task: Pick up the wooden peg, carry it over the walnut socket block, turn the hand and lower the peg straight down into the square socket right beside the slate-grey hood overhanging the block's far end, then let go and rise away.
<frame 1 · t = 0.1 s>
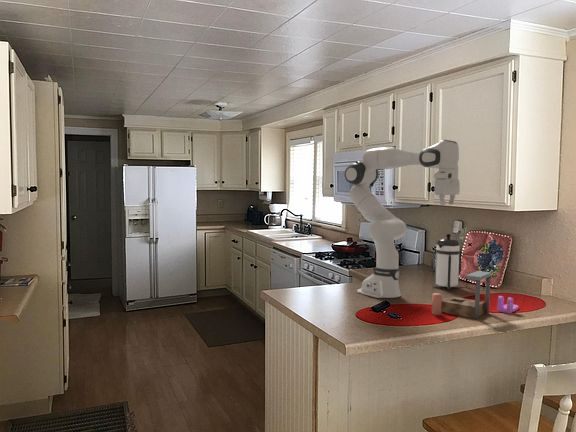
hand: (447, 204, 235), 48 cm above the table, tool pointing down, fingers open, 8 cm apart
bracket: (508, 310, 233), on the table
coffee press: (447, 287, 279), on the table
hood: (477, 315, 222), on the table
peg: (436, 314, 223), on the table
socket block: (461, 312, 227), on the table
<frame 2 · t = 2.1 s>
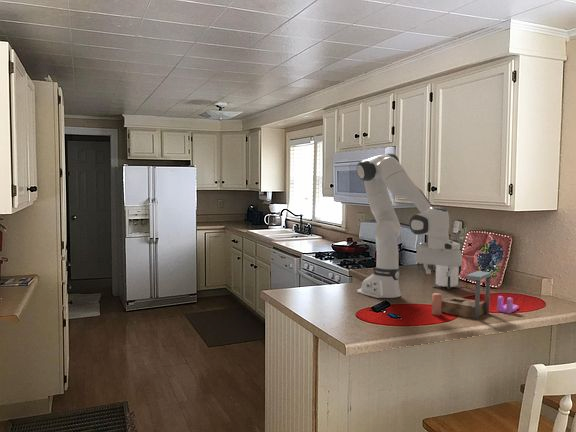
hand: (438, 275, 222), 18 cm above the table, tool pointing down, fingers open, 8 cm apart
nothing on the table moved.
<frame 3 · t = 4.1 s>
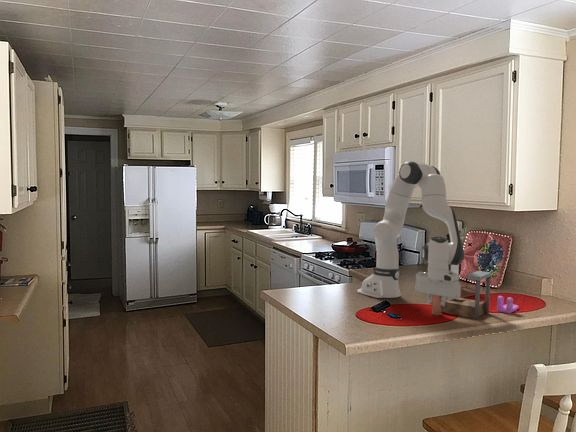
hand: (436, 305, 223), 4 cm above the table, tool pointing down, fingers closed on peg, 4 cm apart
peg: (436, 314, 223), on the table, touching gripper
everything else where it was.
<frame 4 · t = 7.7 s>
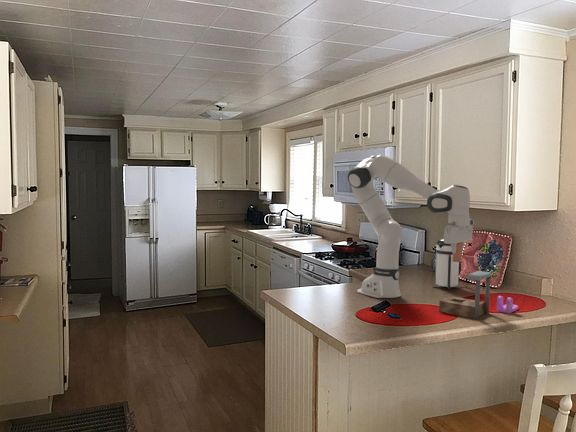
hand: (457, 252, 225), 27 cm above the table, tool pointing down, fingers closed on peg, 4 cm apart
peg: (457, 261, 226), point 23 cm above the table, touching gripper
everything else where it was.
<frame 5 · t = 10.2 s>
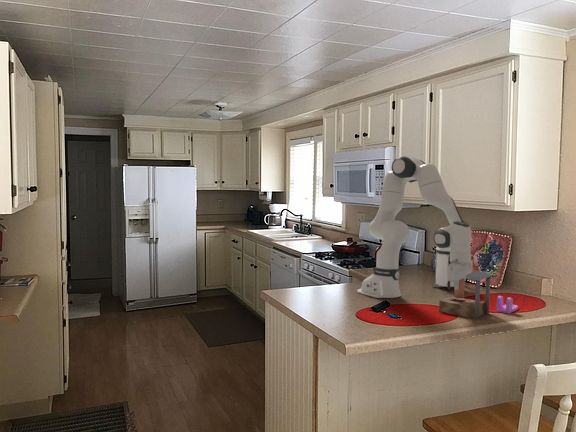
hand: (459, 288, 228), 11 cm above the table, tool pointing down, fingers closed on peg, 4 cm apart
peg: (458, 297, 228), point 6 cm above the table, touching gripper
everything else where it was.
when the fingers open (7 cm above the table, at t = 11.4 s): peg stays where it is and tips over, resting on socket block.
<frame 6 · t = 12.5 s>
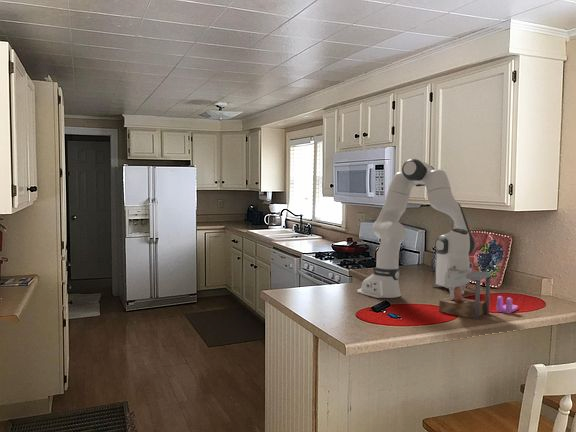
hand: (457, 295, 228), 7 cm above the table, tool pointing down, fingers open, 8 cm apart
peg: (459, 302, 229), point 4 cm above the table, tilted 31°, touching gripper, socket block
everything else where it was.
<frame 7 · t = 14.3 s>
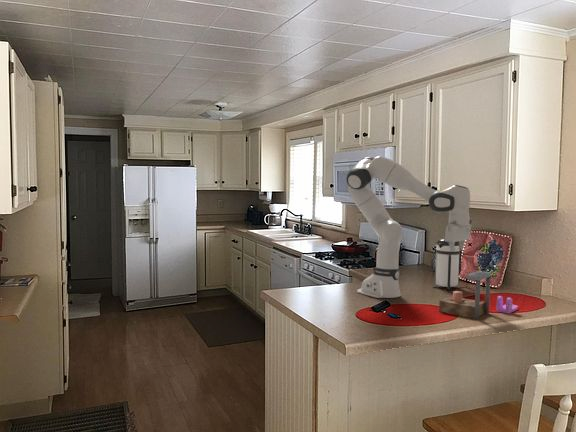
hand: (456, 250, 232), 27 cm above the table, tool pointing down, fingers open, 8 cm apart
peg: (457, 311, 228), resting in socket block
everything else where it was.
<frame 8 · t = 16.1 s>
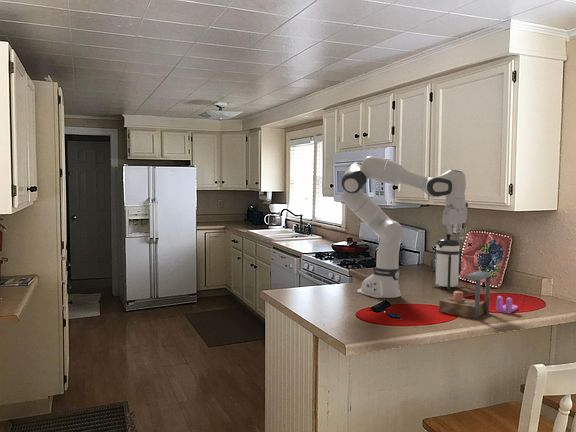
hand: (454, 233, 240), 34 cm above the table, tool pointing down, fingers open, 8 cm apart
nothing on the table moved.
at the end: peg 0.4 cm from the target spot on the socket block, point 0.0 cm above the socket block's base; peg tilted 2°; the gripper is holding nothing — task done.
